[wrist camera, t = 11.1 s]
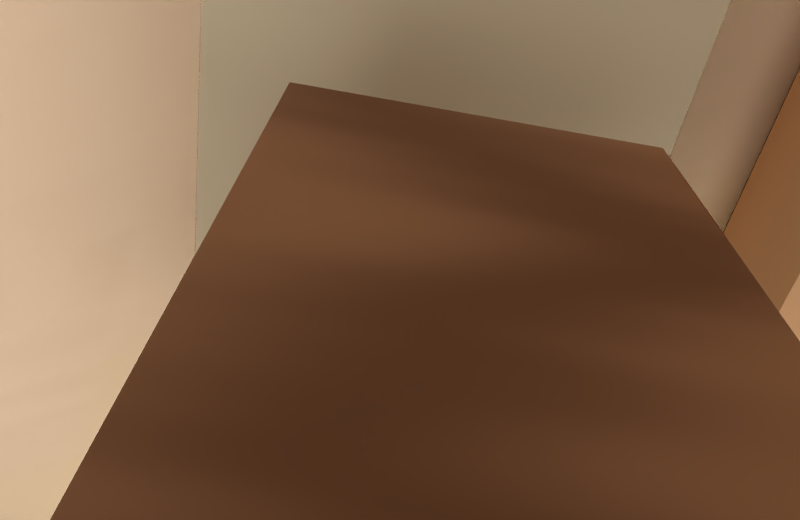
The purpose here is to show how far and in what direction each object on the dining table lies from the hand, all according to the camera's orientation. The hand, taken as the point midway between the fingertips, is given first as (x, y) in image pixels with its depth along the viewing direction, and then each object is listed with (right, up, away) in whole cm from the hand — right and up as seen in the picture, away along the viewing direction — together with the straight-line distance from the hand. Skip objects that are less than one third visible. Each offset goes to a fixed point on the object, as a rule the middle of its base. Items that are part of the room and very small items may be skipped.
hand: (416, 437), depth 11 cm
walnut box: (0, +1, +1) cm, 1 cm away
